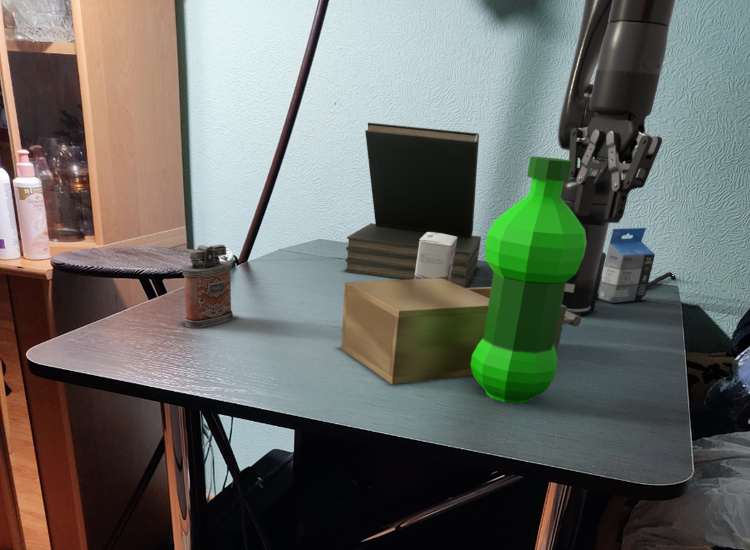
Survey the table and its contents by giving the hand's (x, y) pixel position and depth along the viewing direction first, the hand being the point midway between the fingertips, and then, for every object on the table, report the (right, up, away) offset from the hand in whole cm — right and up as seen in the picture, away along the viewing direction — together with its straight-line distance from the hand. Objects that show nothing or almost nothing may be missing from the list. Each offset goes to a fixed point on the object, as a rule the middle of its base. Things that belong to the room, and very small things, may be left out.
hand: (596, 218), depth 95 cm
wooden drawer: (-12, -16, +3) cm, 20 cm away
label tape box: (+16, -1, +38) cm, 41 cm away
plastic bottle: (-14, -25, -11) cm, 31 cm away
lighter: (-52, -13, +5) cm, 54 cm away
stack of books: (-22, +8, +46) cm, 52 cm away
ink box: (-21, -9, +16) cm, 28 cm away
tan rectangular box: (-24, -20, -3) cm, 31 cm away
